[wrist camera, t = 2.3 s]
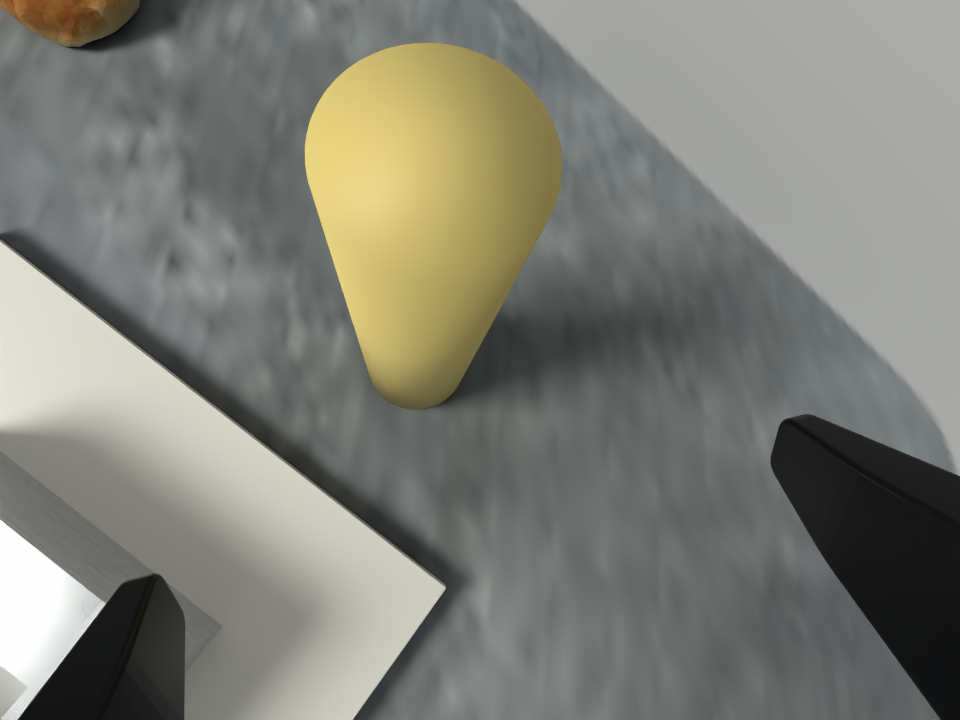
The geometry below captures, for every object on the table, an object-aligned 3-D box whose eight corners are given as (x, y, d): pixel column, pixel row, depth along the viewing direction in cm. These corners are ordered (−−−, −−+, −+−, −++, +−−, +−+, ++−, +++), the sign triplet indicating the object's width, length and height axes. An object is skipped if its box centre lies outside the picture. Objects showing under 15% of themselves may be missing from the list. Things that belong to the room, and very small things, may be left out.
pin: (483, 353, 21) (610, 143, 8) (424, 429, 20) (461, 331, 7) (408, 295, 21) (415, -2, 8) (347, 369, 20) (248, 168, 7)
